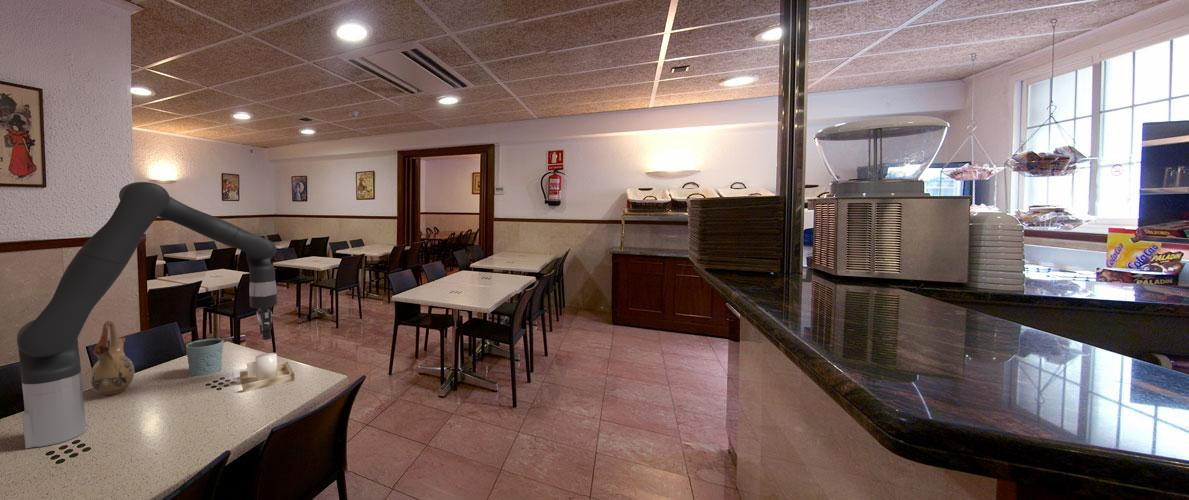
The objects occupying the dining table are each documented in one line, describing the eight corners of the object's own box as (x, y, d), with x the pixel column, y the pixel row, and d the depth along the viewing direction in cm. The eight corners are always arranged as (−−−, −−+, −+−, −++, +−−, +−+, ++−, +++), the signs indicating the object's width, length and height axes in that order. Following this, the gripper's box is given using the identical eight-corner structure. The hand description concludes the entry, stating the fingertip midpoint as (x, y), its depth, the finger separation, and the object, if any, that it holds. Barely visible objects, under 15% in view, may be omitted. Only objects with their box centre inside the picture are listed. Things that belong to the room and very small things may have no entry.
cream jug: (249, 386, 136) (247, 362, 135) (247, 380, 140) (246, 357, 139) (278, 379, 142) (277, 356, 141) (276, 374, 146) (275, 351, 145)
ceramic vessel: (125, 398, 125) (119, 325, 123) (81, 406, 120) (74, 329, 117) (142, 380, 138) (137, 313, 136) (103, 386, 133) (97, 316, 130)
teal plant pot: (195, 369, 149) (194, 339, 148) (229, 366, 153) (228, 337, 152) (181, 380, 140) (179, 348, 138) (217, 376, 144) (216, 345, 143)
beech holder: (243, 393, 132) (243, 385, 131) (240, 379, 142) (239, 371, 142) (294, 381, 142) (294, 373, 141) (287, 369, 152) (287, 362, 152)
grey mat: (234, 381, 140) (234, 379, 140) (232, 372, 147) (232, 371, 147) (270, 373, 148) (269, 372, 148) (266, 365, 154) (266, 364, 154)
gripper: (247, 291, 141) (249, 333, 142) (251, 298, 131) (254, 343, 133) (273, 288, 146) (275, 329, 148) (279, 295, 136) (281, 339, 138)
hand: (265, 336), depth 140 cm, fingers open, 8 cm apart
